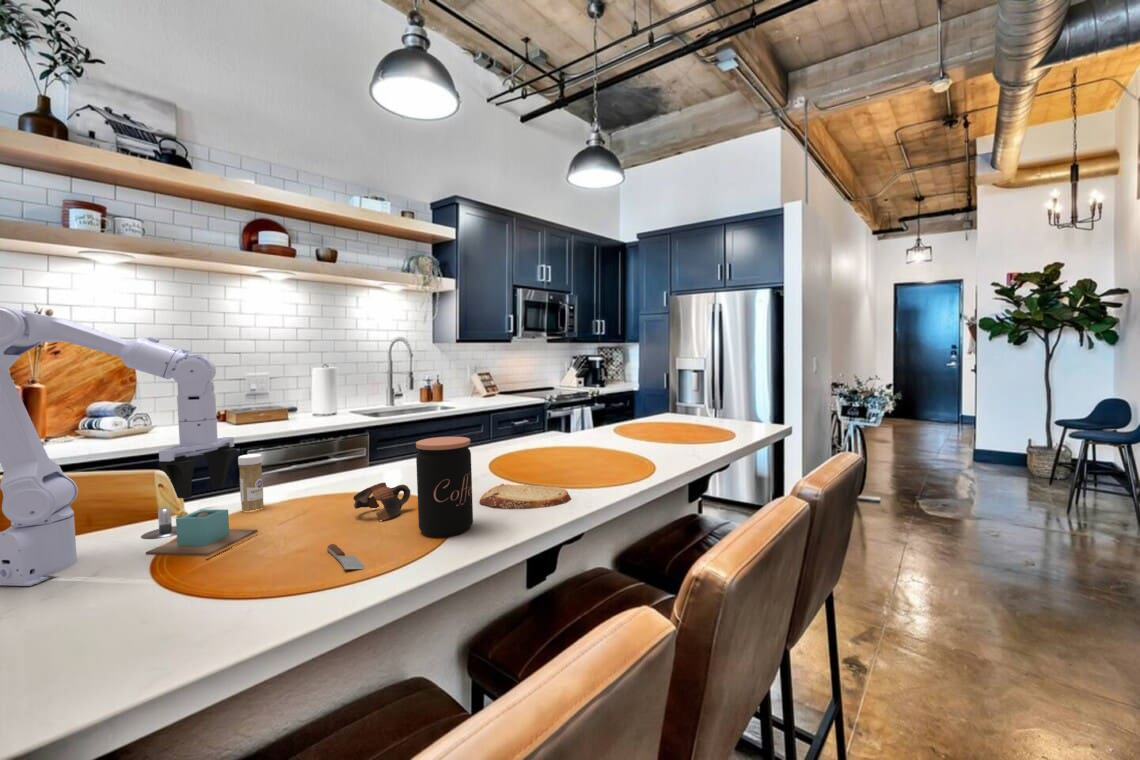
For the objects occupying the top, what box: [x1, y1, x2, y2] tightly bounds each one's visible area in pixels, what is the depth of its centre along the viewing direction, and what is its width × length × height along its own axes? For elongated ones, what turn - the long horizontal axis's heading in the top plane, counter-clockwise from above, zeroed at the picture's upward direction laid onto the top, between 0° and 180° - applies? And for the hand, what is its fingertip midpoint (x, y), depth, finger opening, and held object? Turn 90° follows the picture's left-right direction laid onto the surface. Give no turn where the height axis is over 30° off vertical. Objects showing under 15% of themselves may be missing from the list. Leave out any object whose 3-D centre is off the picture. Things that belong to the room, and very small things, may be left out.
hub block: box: [145, 512, 258, 561], centre depth 94 cm, size 12×12×6 cm
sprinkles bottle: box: [237, 453, 265, 511], centre depth 114 cm, size 5×5×13 cm
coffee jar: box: [415, 436, 474, 538], centre depth 100 cm, size 11×11×18 cm
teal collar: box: [175, 508, 230, 546], centre depth 94 cm, size 6×6×5 cm
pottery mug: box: [352, 482, 411, 521], centre depth 112 cm, size 12×10×8 cm
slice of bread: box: [478, 483, 572, 510], centre depth 120 cm, size 18×18×4 cm
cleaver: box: [326, 543, 366, 570], centre depth 87 cm, size 13×2×5 cm
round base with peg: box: [140, 507, 177, 540], centre depth 100 cm, size 8×8×6 cm
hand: (201, 491), depth 93 cm, fingers open, 7 cm apart
